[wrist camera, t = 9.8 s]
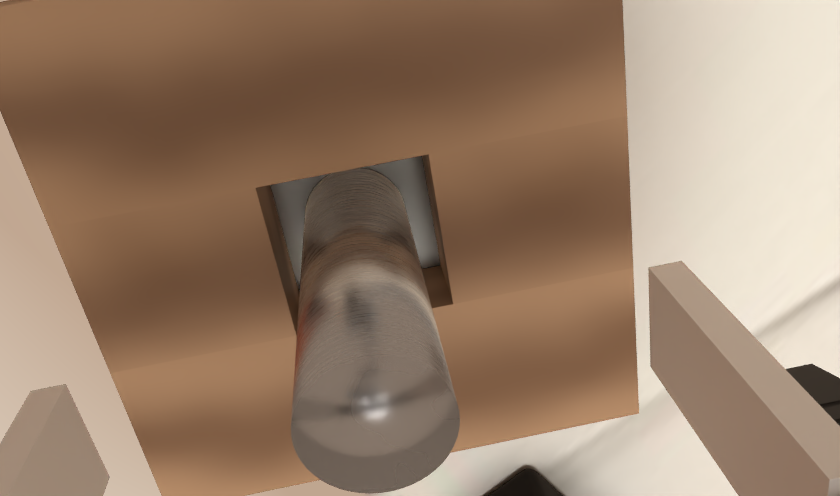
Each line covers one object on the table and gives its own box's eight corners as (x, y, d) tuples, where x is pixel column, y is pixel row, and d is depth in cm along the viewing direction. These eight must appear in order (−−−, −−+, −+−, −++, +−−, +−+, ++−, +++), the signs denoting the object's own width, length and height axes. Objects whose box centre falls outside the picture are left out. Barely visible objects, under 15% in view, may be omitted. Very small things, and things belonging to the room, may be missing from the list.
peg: (294, 178, 26) (272, 376, 15) (396, 158, 26) (447, 340, 15) (317, 268, 27) (311, 507, 16) (412, 250, 27) (470, 474, 17)
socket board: (4, 1, 22) (-41, 14, 20) (583, -105, 23) (618, -106, 20) (182, 457, 30) (168, 511, 27) (611, 368, 31) (638, 413, 28)
